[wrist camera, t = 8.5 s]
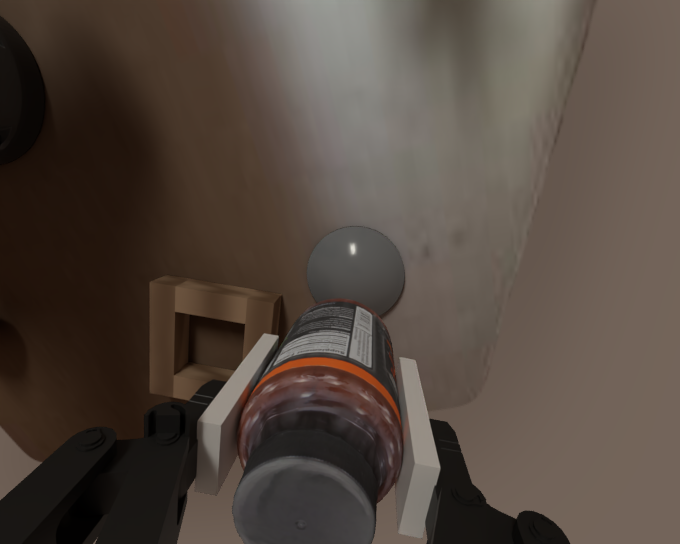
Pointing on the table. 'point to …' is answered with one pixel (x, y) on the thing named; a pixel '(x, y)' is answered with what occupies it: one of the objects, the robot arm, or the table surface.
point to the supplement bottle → (321, 432)
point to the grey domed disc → (356, 268)
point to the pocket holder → (173, 328)
